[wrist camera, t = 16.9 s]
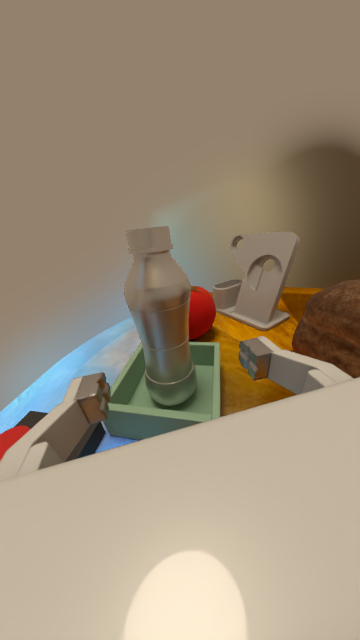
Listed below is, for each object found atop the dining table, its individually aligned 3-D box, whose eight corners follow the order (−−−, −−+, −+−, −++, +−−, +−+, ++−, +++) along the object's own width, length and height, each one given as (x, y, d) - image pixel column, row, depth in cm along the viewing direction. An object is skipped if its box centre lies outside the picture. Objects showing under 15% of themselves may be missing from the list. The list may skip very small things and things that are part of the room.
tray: (109, 435, 21) (96, 408, 18) (147, 362, 31) (142, 340, 29) (220, 453, 18) (220, 424, 16) (219, 366, 29) (219, 342, 27)
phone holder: (208, 308, 50) (206, 238, 41) (233, 298, 54) (236, 234, 46) (264, 332, 36) (278, 235, 28) (291, 316, 41) (310, 229, 33)
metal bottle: (154, 375, 27) (122, 232, 18) (198, 374, 27) (187, 224, 18) (143, 413, 22) (90, 234, 13) (198, 414, 21) (184, 223, 12)
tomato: (156, 337, 39) (147, 290, 34) (187, 318, 45) (183, 277, 40) (193, 355, 32) (189, 300, 27) (224, 330, 38) (224, 282, 33)
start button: (-23, 477, 15) (-36, 466, 14) (19, 433, 18) (10, 423, 17) (10, 485, 14) (-2, 475, 13) (48, 438, 17) (39, 427, 16)
